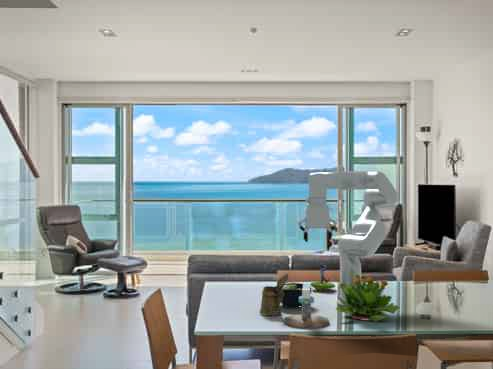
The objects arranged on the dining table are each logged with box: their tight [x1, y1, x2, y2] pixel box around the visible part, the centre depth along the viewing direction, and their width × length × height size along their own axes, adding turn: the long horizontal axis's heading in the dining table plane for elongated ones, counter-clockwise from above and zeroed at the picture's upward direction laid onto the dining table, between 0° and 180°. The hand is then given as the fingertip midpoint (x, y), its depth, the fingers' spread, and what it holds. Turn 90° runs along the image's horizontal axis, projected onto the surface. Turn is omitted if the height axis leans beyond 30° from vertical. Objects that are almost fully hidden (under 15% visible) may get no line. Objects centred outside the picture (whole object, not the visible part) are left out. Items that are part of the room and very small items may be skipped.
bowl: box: [274, 282, 312, 308], centre depth 270 cm, size 17×17×10 cm
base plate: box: [283, 303, 330, 329], centre depth 239 cm, size 18×18×8 cm
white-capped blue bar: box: [299, 283, 315, 304], centre depth 239 cm, size 14×6×6 cm, turn 174°
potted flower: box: [335, 273, 400, 322], centre depth 248 cm, size 25×24×18 cm
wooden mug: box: [259, 273, 289, 316], centre depth 253 cm, size 9×14×18 cm, turn 49°
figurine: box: [309, 259, 336, 292], centre depth 308 cm, size 14×13×15 cm
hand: (317, 241), depth 259 cm, fingers open, 9 cm apart
